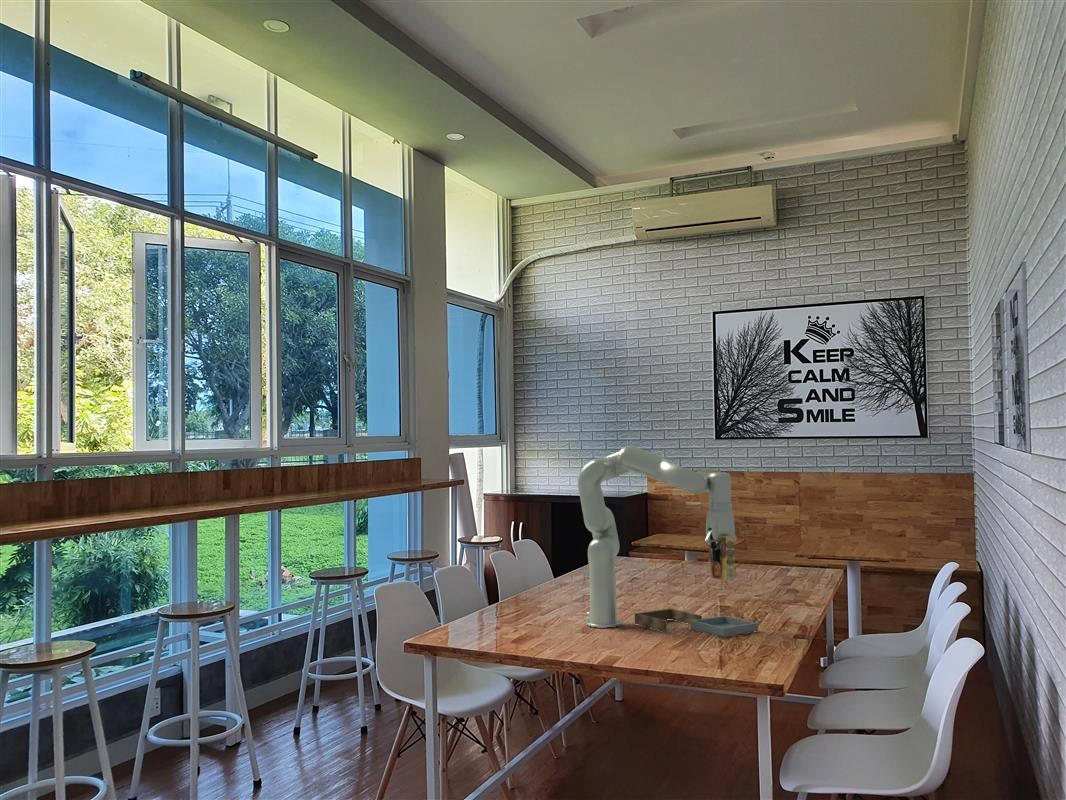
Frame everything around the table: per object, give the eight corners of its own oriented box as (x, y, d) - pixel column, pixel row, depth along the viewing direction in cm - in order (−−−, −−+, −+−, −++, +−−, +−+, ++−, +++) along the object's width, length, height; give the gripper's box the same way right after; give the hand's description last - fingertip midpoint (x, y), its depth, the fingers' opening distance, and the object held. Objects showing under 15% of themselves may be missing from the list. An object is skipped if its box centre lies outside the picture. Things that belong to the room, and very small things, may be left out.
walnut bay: (634, 624, 293) (634, 613, 294) (671, 619, 302) (671, 608, 302) (664, 633, 279) (664, 621, 279) (701, 627, 288) (701, 615, 288)
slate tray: (690, 629, 284) (690, 620, 285) (725, 623, 293) (724, 615, 293) (723, 637, 271) (723, 628, 271) (758, 631, 279) (757, 623, 279)
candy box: (735, 579, 280) (734, 534, 281) (726, 580, 278) (725, 535, 279) (718, 576, 288) (716, 532, 289) (708, 577, 286) (707, 533, 287)
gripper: (730, 506, 292) (731, 557, 291) (694, 508, 283) (696, 561, 282) (745, 507, 285) (747, 560, 284) (709, 509, 277) (711, 563, 276)
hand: (721, 560), depth 283 cm, fingers closed on candy box, 4 cm apart
